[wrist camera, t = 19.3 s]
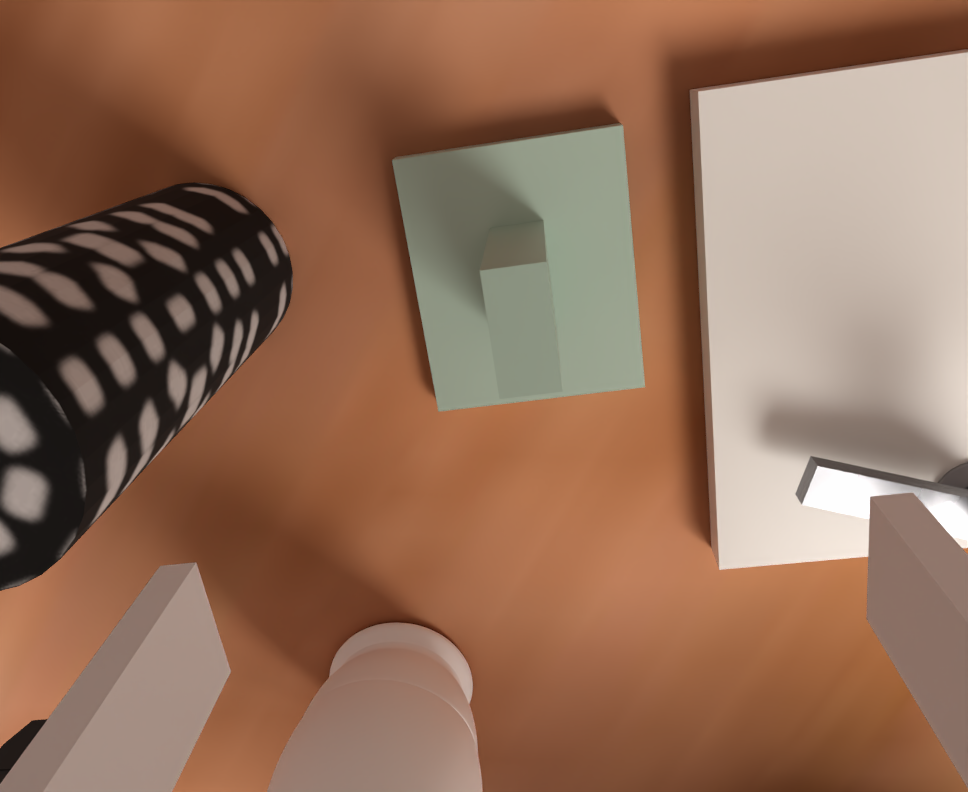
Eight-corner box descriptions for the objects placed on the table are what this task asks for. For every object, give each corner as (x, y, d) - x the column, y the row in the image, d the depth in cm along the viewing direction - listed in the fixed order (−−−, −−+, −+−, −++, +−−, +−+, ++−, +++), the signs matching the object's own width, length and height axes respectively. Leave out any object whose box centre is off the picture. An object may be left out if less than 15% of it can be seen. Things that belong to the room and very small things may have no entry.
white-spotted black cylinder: (239, 153, 38) (-42, 247, 19) (323, 317, 40) (147, 538, 22) (87, 224, 39) (-309, 373, 21) (177, 377, 42) (-101, 629, 24)
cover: (641, 375, 41) (671, 463, 32) (441, 399, 42) (417, 490, 33) (619, 122, 37) (647, 143, 28) (397, 156, 38) (356, 186, 29)
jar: (334, 582, 46) (250, 808, 32) (513, 630, 47) (505, 873, 33) (298, 723, 50) (209, 978, 36) (463, 766, 51) (437, 1033, 37)
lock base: (1114, 511, 42) (1144, 535, 40) (711, 547, 44) (720, 573, 42) (1192, 15, 34) (1236, 13, 31) (689, 89, 36) (699, 91, 34)
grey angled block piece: (1028, 448, 38) (1221, 599, 28) (973, 555, 41) (1131, 734, 30) (815, 402, 38) (926, 537, 27) (771, 513, 40) (858, 678, 30)
